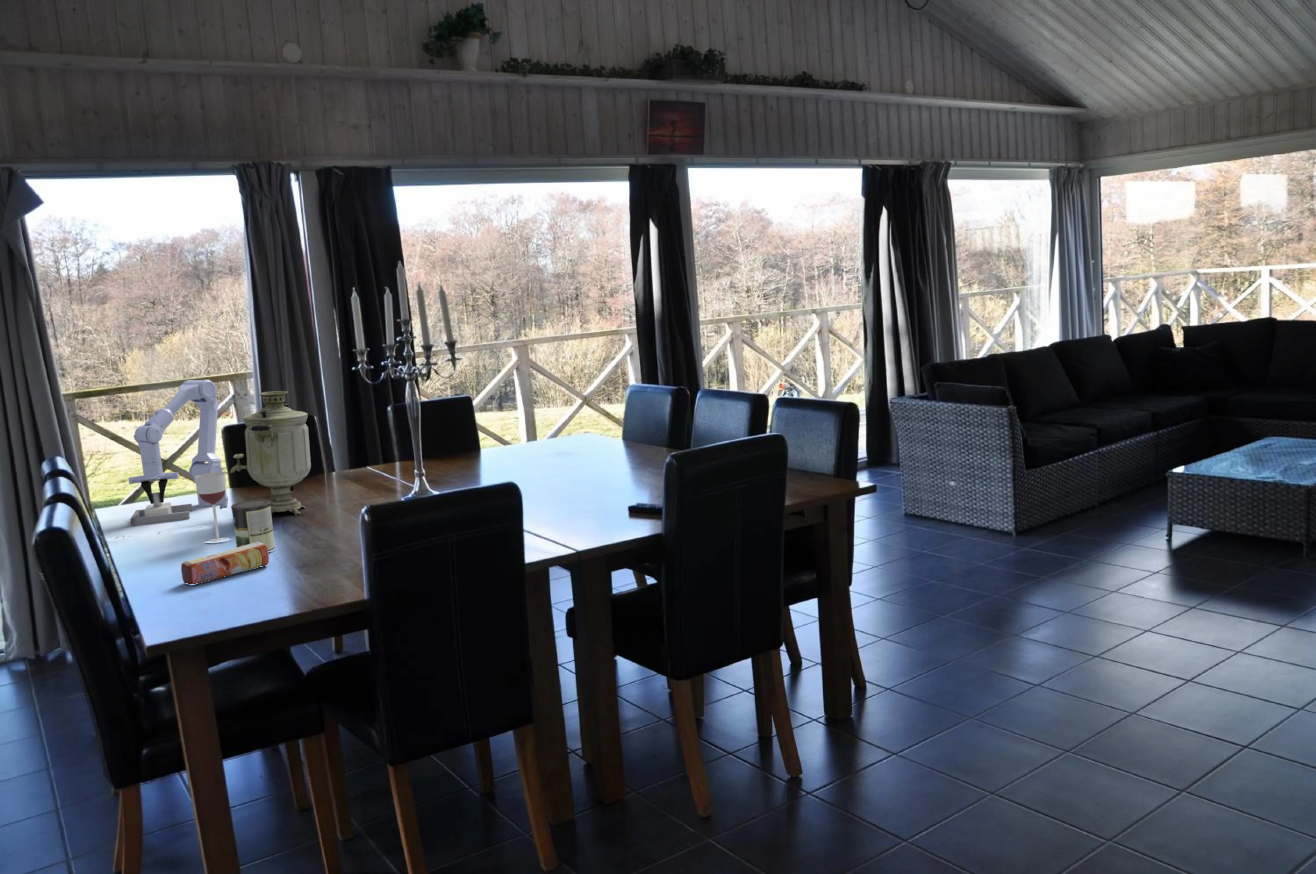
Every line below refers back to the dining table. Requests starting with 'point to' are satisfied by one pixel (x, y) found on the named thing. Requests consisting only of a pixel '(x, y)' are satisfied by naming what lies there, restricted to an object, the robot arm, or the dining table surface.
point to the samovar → (277, 449)
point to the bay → (162, 515)
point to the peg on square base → (157, 506)
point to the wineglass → (212, 492)
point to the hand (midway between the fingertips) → (157, 502)
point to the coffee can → (253, 523)
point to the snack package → (225, 563)
